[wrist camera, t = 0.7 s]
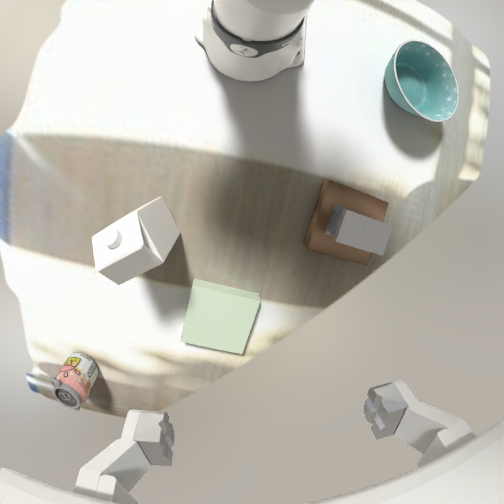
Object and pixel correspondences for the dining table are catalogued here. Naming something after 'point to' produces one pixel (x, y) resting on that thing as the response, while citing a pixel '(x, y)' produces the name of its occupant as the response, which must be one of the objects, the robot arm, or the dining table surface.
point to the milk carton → (135, 242)
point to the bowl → (422, 81)
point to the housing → (357, 230)
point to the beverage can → (75, 380)
